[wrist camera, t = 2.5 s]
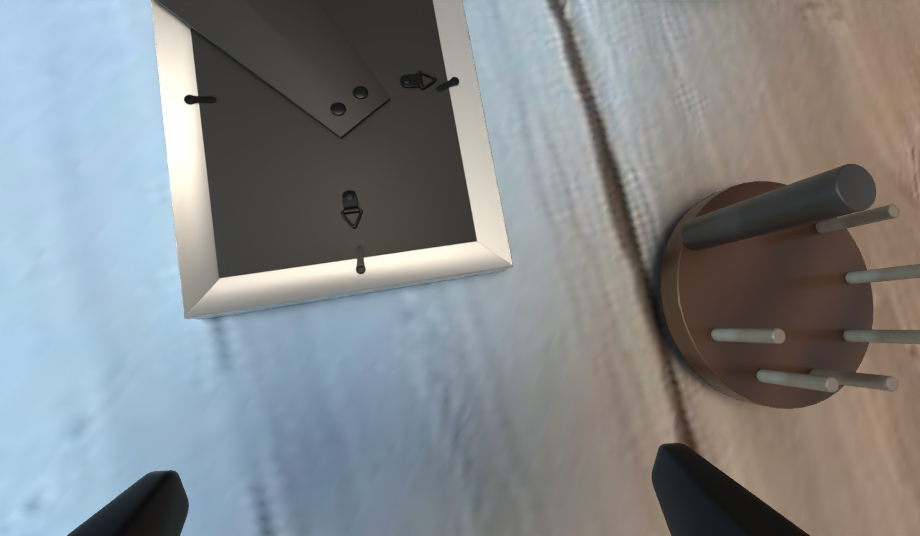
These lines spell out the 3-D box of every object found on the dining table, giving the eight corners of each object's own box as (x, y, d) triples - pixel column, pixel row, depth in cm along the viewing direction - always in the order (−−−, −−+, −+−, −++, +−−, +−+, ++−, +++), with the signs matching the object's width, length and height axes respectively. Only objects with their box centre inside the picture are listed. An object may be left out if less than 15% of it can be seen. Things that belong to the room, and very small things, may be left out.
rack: (872, 259, 27) (1133, 223, 18) (805, 445, 25) (1071, 520, 15) (706, 146, 26) (889, 43, 17) (617, 327, 24) (776, 328, 14)
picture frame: (162, -55, 23) (202, 319, 21) (132, -106, 21) (175, 318, 18) (441, -55, 26) (502, 271, 24) (447, -100, 24) (517, 264, 21)
